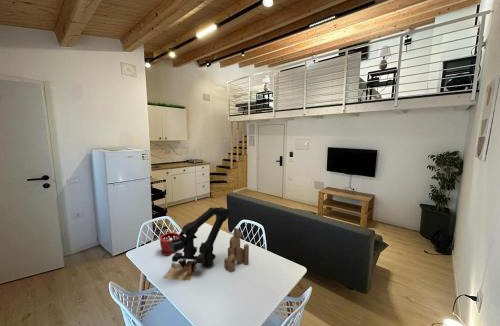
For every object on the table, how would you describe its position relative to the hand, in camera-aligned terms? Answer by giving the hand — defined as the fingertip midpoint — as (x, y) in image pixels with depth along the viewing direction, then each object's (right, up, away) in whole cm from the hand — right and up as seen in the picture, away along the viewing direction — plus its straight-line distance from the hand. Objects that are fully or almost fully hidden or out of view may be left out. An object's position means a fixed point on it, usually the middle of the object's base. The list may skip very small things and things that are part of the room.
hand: (189, 271), depth 133 cm
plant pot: (-21, +1, +26) cm, 33 cm away
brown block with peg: (0, -1, -2) cm, 2 cm away
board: (-5, -2, 0) cm, 5 cm away
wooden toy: (+28, -2, +10) cm, 30 cm away
